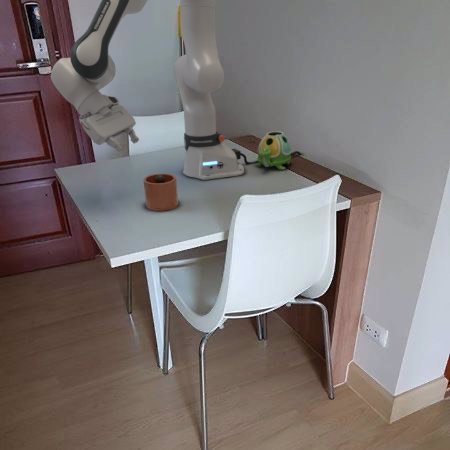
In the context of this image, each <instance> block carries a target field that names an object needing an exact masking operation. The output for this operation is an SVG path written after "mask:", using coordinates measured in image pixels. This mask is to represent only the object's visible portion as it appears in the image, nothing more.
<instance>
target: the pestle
mask: <svg viewBox="0 0 450 450" xmlns="http://www.w3.org/2000/svg"><path fill="white" fill-rule="evenodd" d="M157 174H158V175H157V176H156V177H155V183H165V178H164V176H163V175H161V174H162V173H157Z"/></svg>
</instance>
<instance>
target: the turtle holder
mask: <svg viewBox="0 0 450 450" xmlns="http://www.w3.org/2000/svg"><path fill="white" fill-rule="evenodd" d="M291 153H292V147H291V143H290V141H289V138H288V136H286V134H285V133H284V132H282V131H279V130H278V131H277V130H275V131H274V130H272V131H269V132H267V133H265V135H264V137H262V138H261V140H260V142H259V144H258V147H257V158H256V159H257V160H256V161H258V163H256V165H257V167H259V168H261V167H262V166H263V167H265V168H269V167H274V166H275V167H276V169H277V170H279V171H283V170H286V167H285V166H283V165H286V166H288V165H290V164H291V158H292V156H290V155H291Z"/></svg>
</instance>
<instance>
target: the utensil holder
mask: <svg viewBox="0 0 450 450" xmlns="http://www.w3.org/2000/svg"><path fill="white" fill-rule="evenodd" d="M158 174H159V173H153V174H149V175H147V176H145V177H143V190H144V200H145V206H146V208H147V209H148V210H151V211H154V212H155V211H156V212H165V211H170V210H173V209H175V208H177V207H178V205H179V199H178V184H177V176H175V175H174V174H171V173H160V174H161V175H163V176H164V178H165V183H155V177H156V176H157V175H158Z"/></svg>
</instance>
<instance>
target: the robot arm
mask: <svg viewBox="0 0 450 450" xmlns="http://www.w3.org/2000/svg"><path fill="white" fill-rule="evenodd" d="M146 3H148V0H101V2H100V3H99V5H98V7H97V10H96V12H95V14H94V15H93V18H92V20H91V21H90V24H89V25H88V28H87V29H86V31H85V32H84V33H83V34H82V35H81V36H79V38H78V39H77V40H76V41H75V42H74V43H73V44H72V47H71V49H70V55H69V57H61V58H60V59H58V60H57V61H56V62H55V63H54V65H53V66H52V68H51V72H50V79H51V82H52V84H53V86H54V87H55V88H56V90H57V91H58V92H59V93H60V94H61V96H62V97H63V98H64V99H65V100H66V101H67V102H68V103H70V104H71V105H73V107H74V108H75V110H76V112H77V113H78V114H79V115H80V116H79V118H78V119H79V123H80V125H81V126H82V128H83V130H84V132H85V133H86V134H87V135H88V137H89V138H90V140H91V141H92V142H93V143H94V144H96V145H98V146H100V145H102V144H105V143H106V144H107V145H108V146H110V147H111V148H113V149H115V151H116V152H118V153H120V152H122V151H123V150H124V148H125V146H124V145H123V144H122V143H121V142H118V141H116V140H115V138H117V137H119V136H121V135H123V134H126V135H127V136H129V138H130V142H132V143H133V144H134V145H135V144H136V143H138V142H139V141H140V138H139V137H138V136H137V134H136V132H135V130H134V127H135V126H136V124H137V122H136V119H135V118H134V116H132V114H131V113H130V112H129V111H128V110H127V109H126V107H125V106H123V105H122V104H120V100H119V99H118V98H117V97H116V96H110V95H106V94H103V93H102V92H100V90H101V89H103V88H105V87H106V86H107V85H108V84H110V83H111V82H113V80H114V78H115V76H116V64H115V62H114V59H112V57H111V55H110V54H109V47H110V44H111V41H112V40H113V38H114V35H115V33H116V32H117V29H118V27H119V25H120V23H121V21H122V19H123V18H125V16H127V15H135V14H138V13H140V12H141V11H142V10H143V8H145V6H146ZM179 3H180V4H179V5H180V7H179V8H180V36H181V38H182V40H183V44H184V48H185V49H184V50H185V54H183V55H181V56H179V57H178V58H177V59H176V61H174V65H173V75H174V77H175V79H176V82H177V87H178V91H179V95H180V101H181V104H182V110H183V120H184V133H183V146H184V150H185V156H184V157H185V158H184V166H183V171H182V173H183V174H184V175H185V176H187V177H191V178H196V179H199V180H202V181H207V180H214V179H222V178H223V179H224V178H227V177H228V178H231V177H237V176H242V175H243V174H244V173H245V168H244V166H243V165H242V163H239V162H238V160H241V157H243V161H244V163H245V164H246V165H252V164H258V163H259V162H258V160H255V161H251V162H249V161H248V160H247V155H246V154H244V153H242V151H241V150H238V149H237V148H231V147H229V146H227V145H226V144H225V143H224V141H225V136H224V135H223V134H222V133H220V131H217V115H216V113H217V111H216V107H215V104H214V102H213V100H212V96H211V94H214V93H216V92H218V91H219V90H220V89H221V88H222V87H223V85H224V81H225V72H224V68H223V67H222V65H221V61H220V56H219V50H218V45H217V38H216V37H217V36H216V0H180V2H179ZM296 154H297V155H298V156H301V155H302V153H301V152H300V151H298V150H295V151H293V152H291V155H290V156H291V157H293V156H294V155H296Z"/></svg>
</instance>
